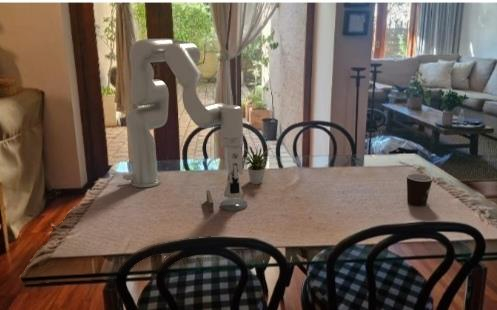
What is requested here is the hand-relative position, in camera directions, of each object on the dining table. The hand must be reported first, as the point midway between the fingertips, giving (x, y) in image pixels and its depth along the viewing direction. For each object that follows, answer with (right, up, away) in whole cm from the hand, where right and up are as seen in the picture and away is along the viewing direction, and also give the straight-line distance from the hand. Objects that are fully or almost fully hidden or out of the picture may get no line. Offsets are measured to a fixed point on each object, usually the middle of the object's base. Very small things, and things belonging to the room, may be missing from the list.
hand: (233, 189), depth 153 cm
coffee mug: (+68, -5, +3) cm, 68 cm away
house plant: (+7, +1, +26) cm, 27 cm away
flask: (0, -2, +1) cm, 2 cm away
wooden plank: (-9, -6, +1) cm, 11 cm away
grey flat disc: (0, -6, +2) cm, 6 cm away
